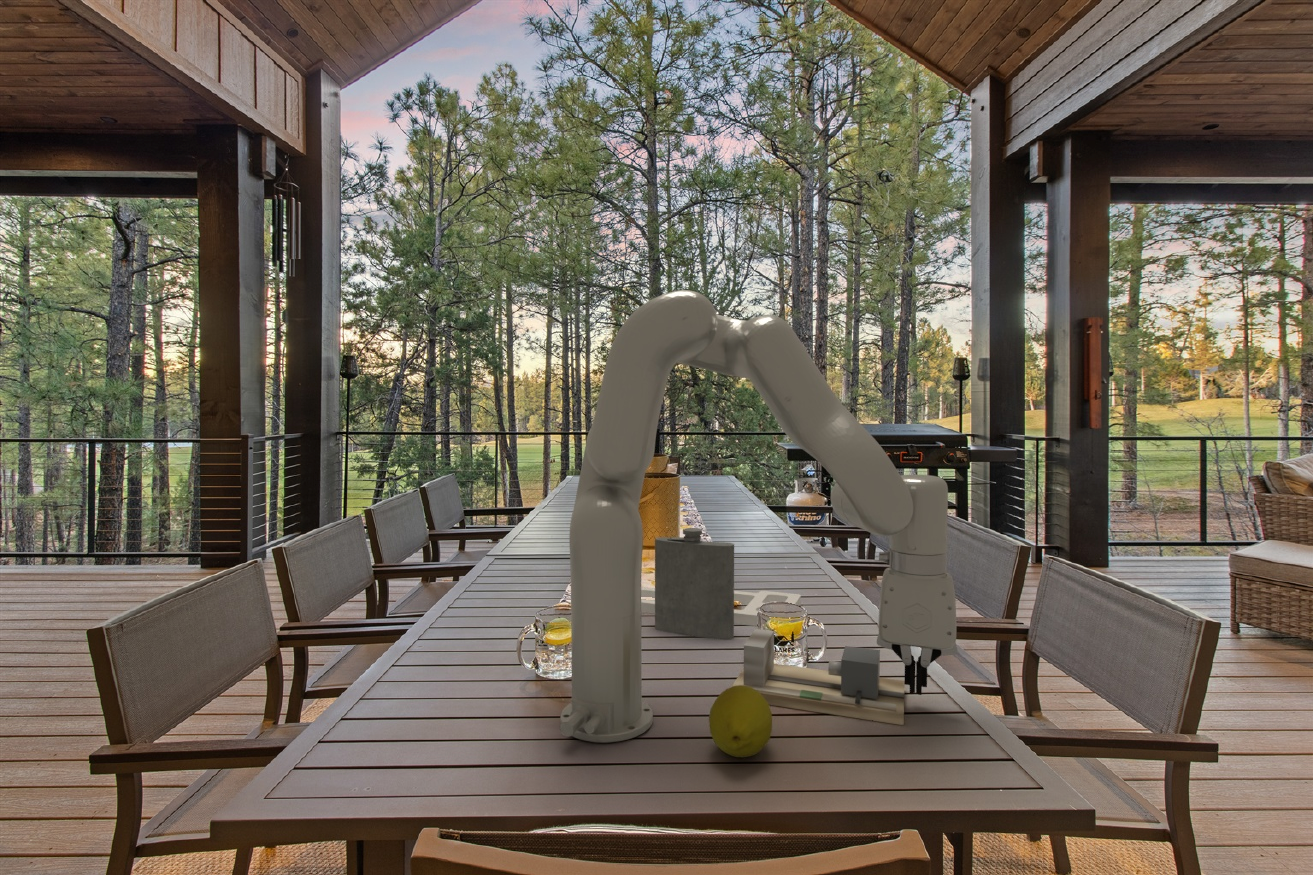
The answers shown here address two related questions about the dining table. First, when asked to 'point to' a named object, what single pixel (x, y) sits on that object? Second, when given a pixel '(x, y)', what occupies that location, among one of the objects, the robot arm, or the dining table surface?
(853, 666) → the block
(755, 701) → the lemon
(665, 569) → the hip flask
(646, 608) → the holder
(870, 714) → the track board
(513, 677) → the dining table surface
